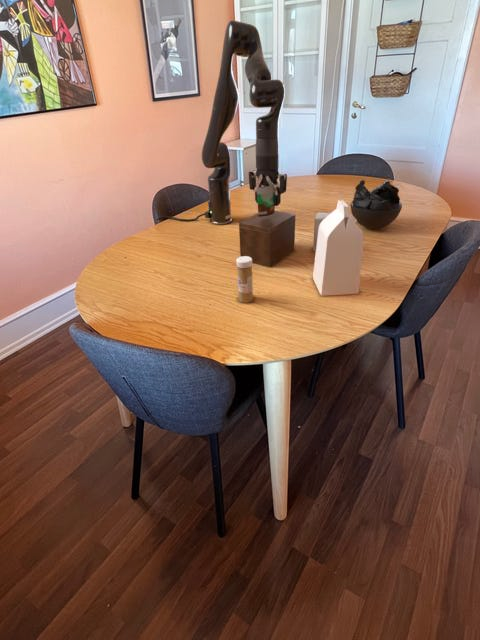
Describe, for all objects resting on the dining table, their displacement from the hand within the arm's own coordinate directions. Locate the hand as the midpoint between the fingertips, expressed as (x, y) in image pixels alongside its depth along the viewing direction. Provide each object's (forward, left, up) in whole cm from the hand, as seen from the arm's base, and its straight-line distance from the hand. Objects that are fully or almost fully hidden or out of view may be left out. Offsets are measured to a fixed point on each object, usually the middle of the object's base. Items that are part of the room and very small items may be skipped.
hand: (267, 203), depth 132 cm
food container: (0, 0, -3) cm, 3 cm away
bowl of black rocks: (+23, +46, -19) cm, 55 cm away
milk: (+31, -9, -19) cm, 38 cm away
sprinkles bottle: (+12, -31, -19) cm, 39 cm away
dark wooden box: (0, 0, -19) cm, 19 cm away
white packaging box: (+15, +16, -19) cm, 29 cm away
